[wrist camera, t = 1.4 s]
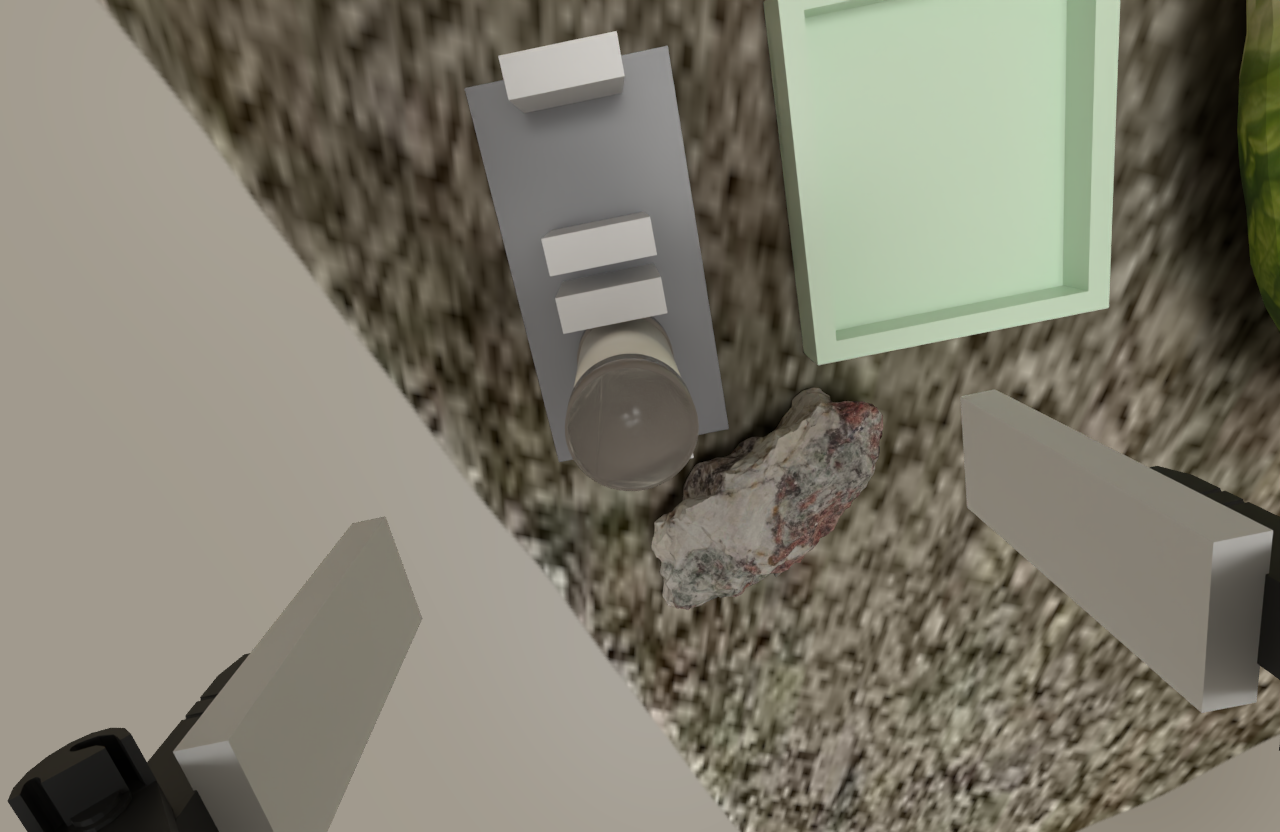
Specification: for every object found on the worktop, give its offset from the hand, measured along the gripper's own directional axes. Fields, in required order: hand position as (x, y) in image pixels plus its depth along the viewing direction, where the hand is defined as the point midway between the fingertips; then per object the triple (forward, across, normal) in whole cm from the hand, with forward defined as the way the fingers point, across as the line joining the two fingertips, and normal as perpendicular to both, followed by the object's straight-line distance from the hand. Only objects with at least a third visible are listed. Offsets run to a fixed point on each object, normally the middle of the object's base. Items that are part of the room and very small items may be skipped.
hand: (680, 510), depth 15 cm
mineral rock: (+21, +4, -10) cm, 23 cm away
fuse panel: (+20, -1, +4) cm, 20 cm away
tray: (+20, +15, +5) cm, 25 cm away
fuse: (+19, -1, 0) cm, 19 cm away
